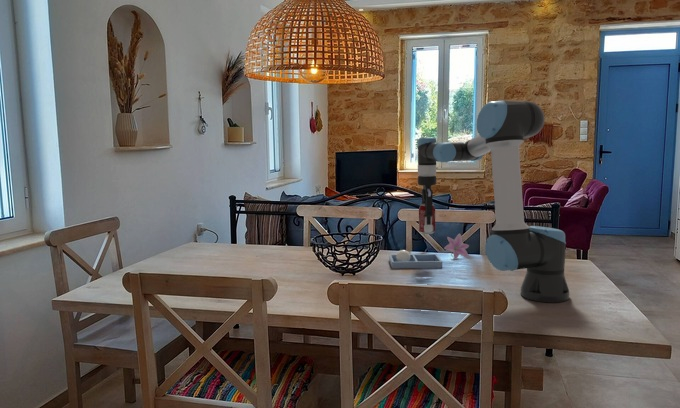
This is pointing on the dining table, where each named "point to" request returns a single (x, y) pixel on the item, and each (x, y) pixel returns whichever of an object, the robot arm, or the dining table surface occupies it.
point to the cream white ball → (403, 256)
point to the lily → (457, 247)
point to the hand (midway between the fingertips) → (426, 230)
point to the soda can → (422, 220)
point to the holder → (417, 261)
